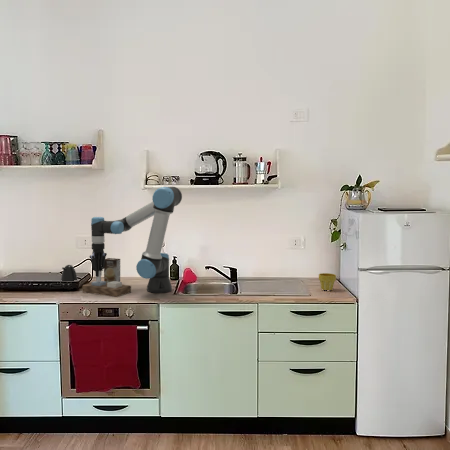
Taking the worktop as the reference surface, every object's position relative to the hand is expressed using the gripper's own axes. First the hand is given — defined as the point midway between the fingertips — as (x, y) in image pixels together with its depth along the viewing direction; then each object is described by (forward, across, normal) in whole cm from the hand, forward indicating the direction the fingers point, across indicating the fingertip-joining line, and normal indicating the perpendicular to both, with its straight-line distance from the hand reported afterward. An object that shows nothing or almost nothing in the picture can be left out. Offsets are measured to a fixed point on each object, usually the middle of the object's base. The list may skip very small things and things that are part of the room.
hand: (98, 281), depth 310 cm
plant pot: (+6, -69, +121) cm, 139 cm away
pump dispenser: (+6, +5, -19) cm, 20 cm away
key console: (+6, 0, +6) cm, 8 cm away
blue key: (+3, 0, 0) cm, 3 cm away
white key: (+3, 0, +12) cm, 12 cm away
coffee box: (+6, -21, -7) cm, 23 cm away
